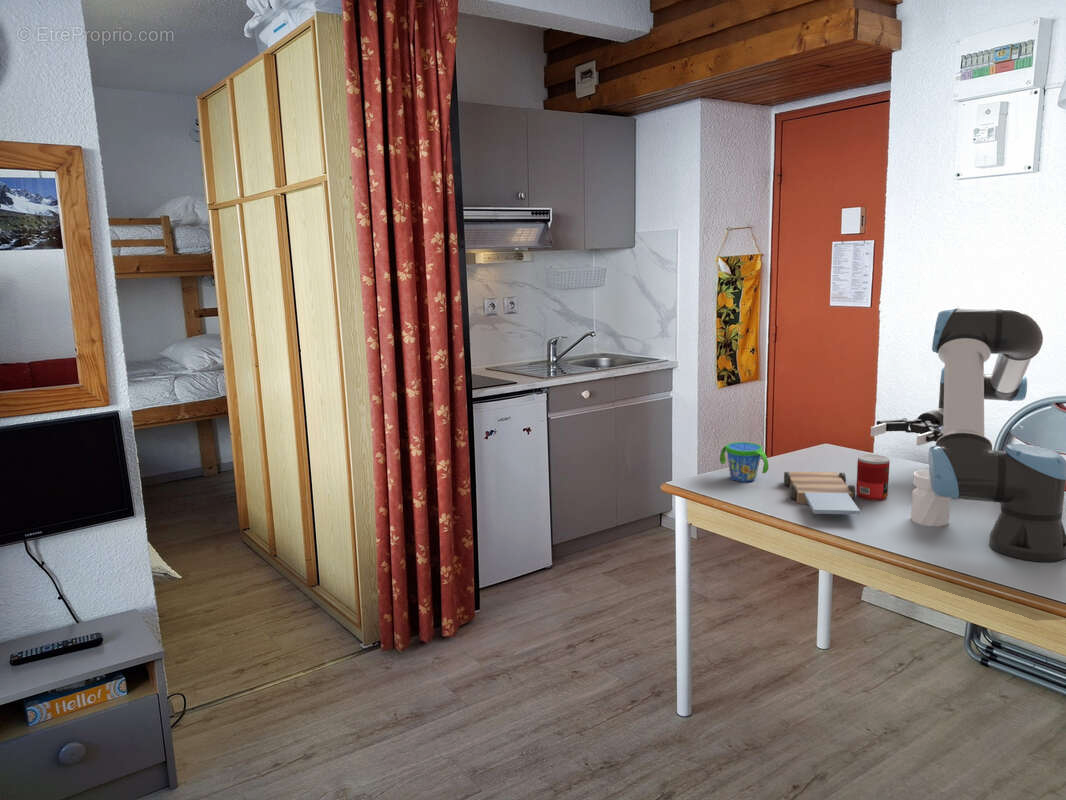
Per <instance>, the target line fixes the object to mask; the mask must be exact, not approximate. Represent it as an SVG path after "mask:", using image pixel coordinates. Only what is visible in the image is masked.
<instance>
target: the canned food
mask: <svg viewBox="0 0 1066 800" xmlns="http://www.w3.org/2000/svg"><path fill="white" fill-rule="evenodd" d="M890 461H891V460H890V458H889V457H888V456H885V455H879V454H868V453H867V454H861V455H859V456H858V457H857V464H856V465H857V466H856V469H857V470H856V471H857V472H856V487H855V492H856V496H857V497H858V498H860V499H863V500H866V501H875V502H876V501H878V502H879V501H884V500H886V499H887V497H888V495H889V482H890V481H889V480H890V479H889V478H890V463H891V462H890Z"/></svg>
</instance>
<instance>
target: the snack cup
mask: <svg viewBox="0 0 1066 800" xmlns="http://www.w3.org/2000/svg"><path fill="white" fill-rule="evenodd" d="M726 453H727V457H726ZM726 458H727V459H726ZM760 459H761V460H762V462H763V468H762V471H761V473H762V474H766V473H767V472H768V471H769V460H768V457H767V455H766V453H765V452H764V451H763V446H762V445H760V444H758V443H754V442H746V441H737V442H731V443H728V444H726V445H725V446H723V447H722V449H721V451H720V456H719V462H720V464H722V465H723V464H726V461H727V462H728V468H729V476H730V478H731V480H733V481H736V482H737V481H738V482H742V483H744V482H746V483H747V482H754V481H755V480H756V479H757V477H758V470H759V466H760V461H761V460H760Z"/></svg>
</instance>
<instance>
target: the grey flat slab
mask: <svg viewBox="0 0 1066 800" xmlns="http://www.w3.org/2000/svg"><path fill="white" fill-rule="evenodd" d="M804 496H805V498H806V500H807V502H808V504H807V505H809V507H810V509H811V511H812V513H813V514H816V515H817V514H819V515H820V514H822V515H823V514H825V515H861V511H860V508H859V506H857V504H856V503H855V500H852V499H851V497H850V496H849V494H848V493H813V492H805V494H804Z"/></svg>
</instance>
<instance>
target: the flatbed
mask: <svg viewBox="0 0 1066 800" xmlns="http://www.w3.org/2000/svg"><path fill="white" fill-rule="evenodd" d="M783 484H784V485H783V486H785V487H789V497H790V499H791V500H795V502H796V503H797V504H806V505H809V504H808V502H807V500H806V498H805V496H804V494H805V492H813V493H848V494H849V496H850V497H851V499H852V500H853V501H855V500H856V496H857V493H856V487H855V485H852V484H850V485H847V478H846V473H845V472H833V471H832V472H831V471H829V472H828V471H825V472H824V471H784V472H783Z"/></svg>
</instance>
